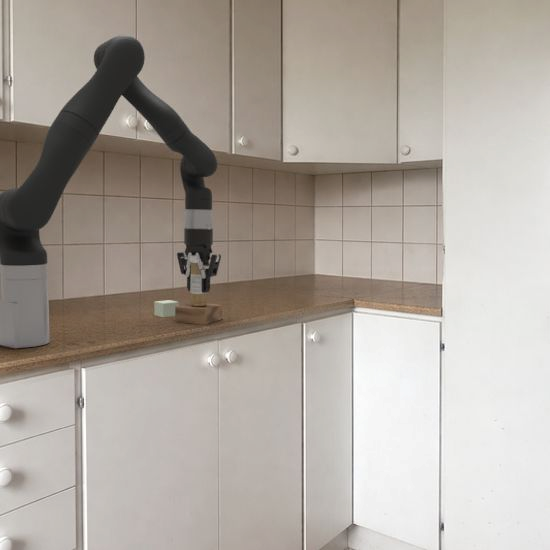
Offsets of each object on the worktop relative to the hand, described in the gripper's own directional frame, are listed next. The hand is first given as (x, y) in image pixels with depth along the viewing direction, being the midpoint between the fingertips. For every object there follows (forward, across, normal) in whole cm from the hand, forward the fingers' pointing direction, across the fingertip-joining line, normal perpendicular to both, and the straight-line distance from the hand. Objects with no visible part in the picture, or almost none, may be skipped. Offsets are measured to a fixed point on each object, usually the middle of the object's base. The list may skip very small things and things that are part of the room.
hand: (198, 291), depth 155 cm
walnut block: (+8, 0, 0) cm, 8 cm away
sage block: (+8, -13, +1) cm, 15 cm away
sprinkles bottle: (+4, 0, 0) cm, 4 cm away
